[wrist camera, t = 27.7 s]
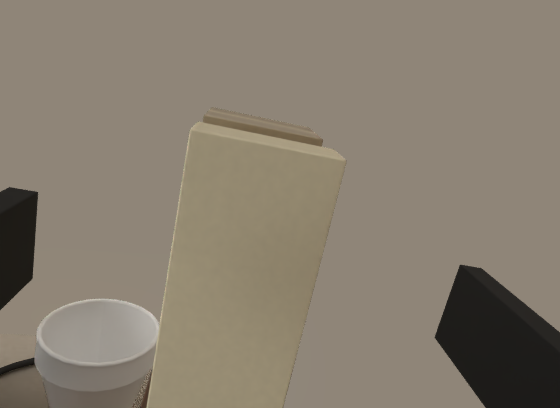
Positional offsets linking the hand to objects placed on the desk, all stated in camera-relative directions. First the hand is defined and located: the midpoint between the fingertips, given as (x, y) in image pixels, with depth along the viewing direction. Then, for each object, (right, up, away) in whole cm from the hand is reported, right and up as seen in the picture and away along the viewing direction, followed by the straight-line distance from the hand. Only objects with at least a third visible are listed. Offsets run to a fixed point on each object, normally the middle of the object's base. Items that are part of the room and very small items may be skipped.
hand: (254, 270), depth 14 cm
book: (-3, -9, +8) cm, 12 cm away
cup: (-21, -24, +37) cm, 49 cm away
